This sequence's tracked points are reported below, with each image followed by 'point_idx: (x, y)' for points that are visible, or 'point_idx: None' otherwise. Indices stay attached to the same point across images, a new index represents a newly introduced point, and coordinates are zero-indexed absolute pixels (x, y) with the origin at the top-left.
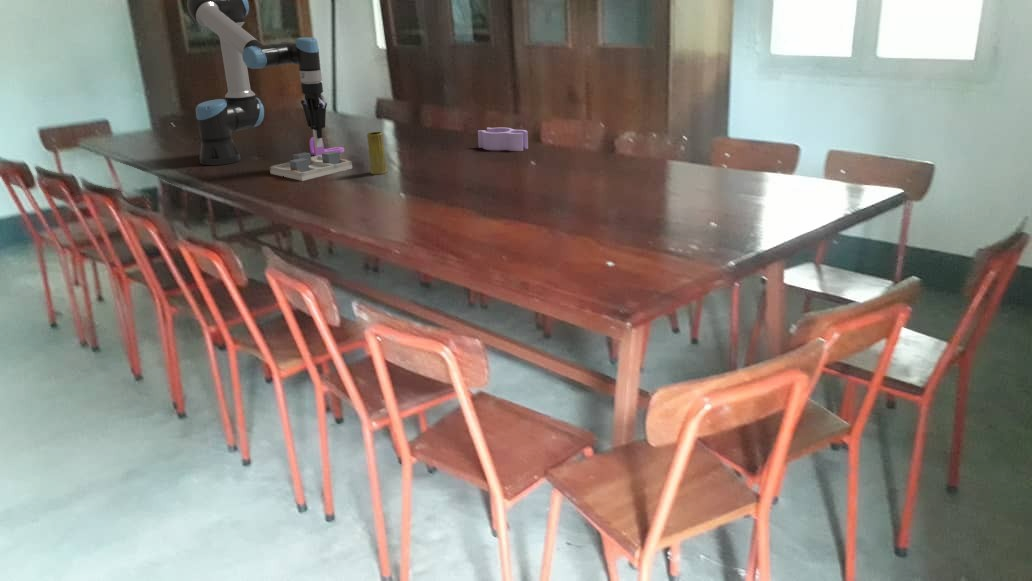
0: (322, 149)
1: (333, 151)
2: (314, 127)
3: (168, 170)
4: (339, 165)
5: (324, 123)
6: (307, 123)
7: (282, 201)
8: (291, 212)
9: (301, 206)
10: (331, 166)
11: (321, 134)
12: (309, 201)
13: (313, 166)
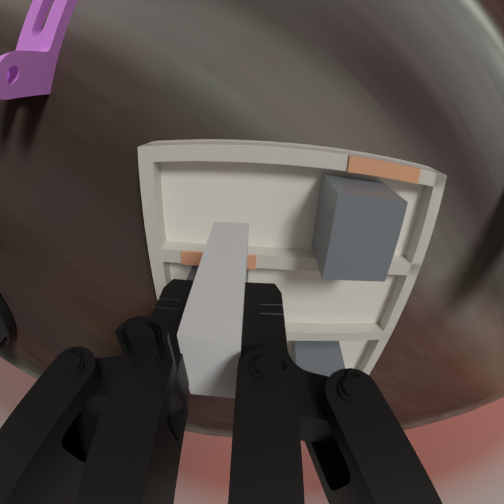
0: (38, 60)
1: (353, 200)
2: (182, 395)
3: (25, 369)
4: (424, 245)
5: (394, 433)
6: (84, 421)
7: (408, 418)
8: (443, 417)
9: (446, 407)
10: (412, 286)
11: (281, 314)
12: (450, 397)
13: (287, 283)
